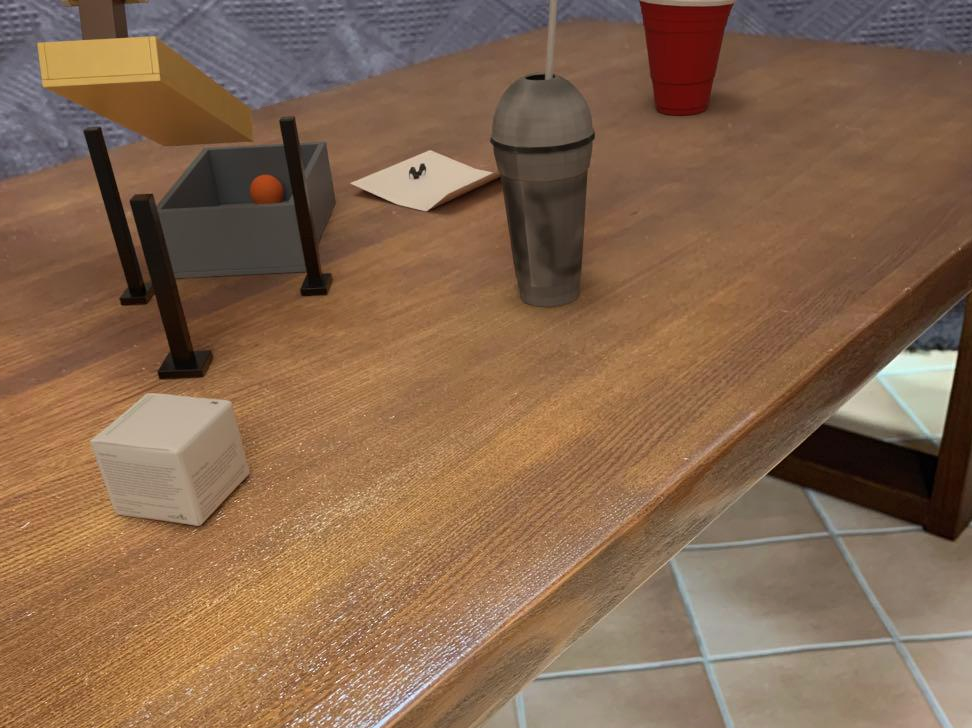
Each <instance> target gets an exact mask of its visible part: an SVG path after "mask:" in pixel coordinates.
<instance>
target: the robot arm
mask: <svg viewBox="0 0 972 728" xmlns="http://www.w3.org/2000/svg"><path fill="white" fill-rule="evenodd" d="M59 2H60V4H61V5H62V6H63V8H73V7H75V8H77V7H78V0H59ZM121 2H122V3H123V4H125V5H129V4H131V5H133V4H135V5H136V4H148V3H149V2H150V0H121Z"/></svg>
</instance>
